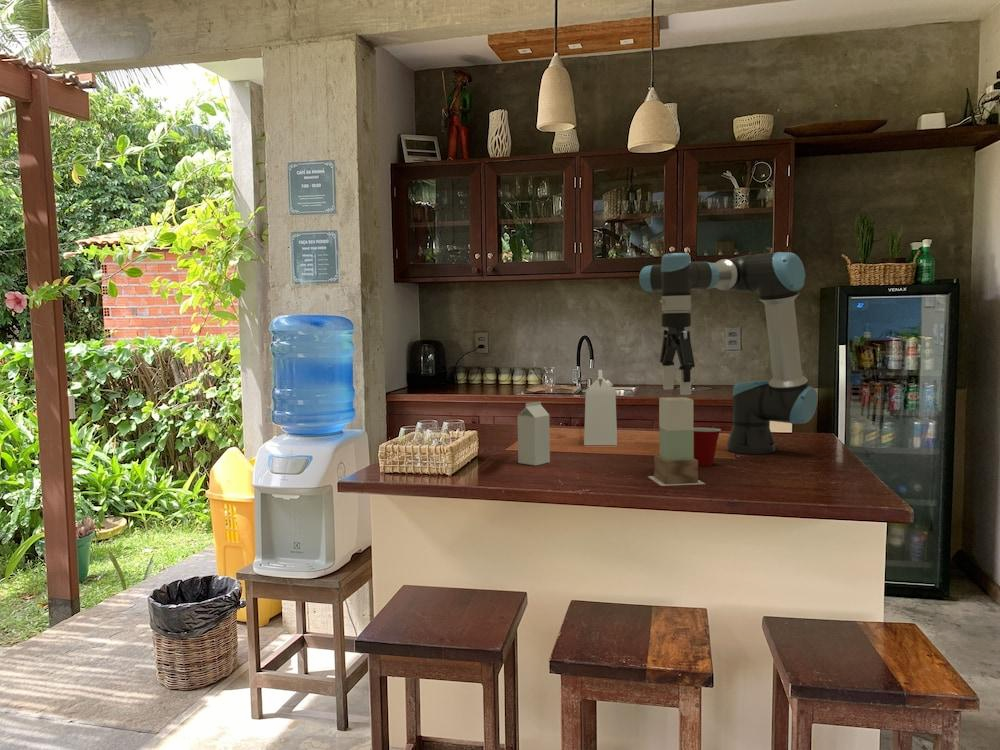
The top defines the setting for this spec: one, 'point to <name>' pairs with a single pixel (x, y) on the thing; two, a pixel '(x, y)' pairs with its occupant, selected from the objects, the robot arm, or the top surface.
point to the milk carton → (533, 435)
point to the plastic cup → (705, 445)
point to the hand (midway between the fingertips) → (676, 392)
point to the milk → (600, 413)
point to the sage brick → (677, 444)
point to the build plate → (672, 484)
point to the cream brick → (676, 413)
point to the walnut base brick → (675, 471)
